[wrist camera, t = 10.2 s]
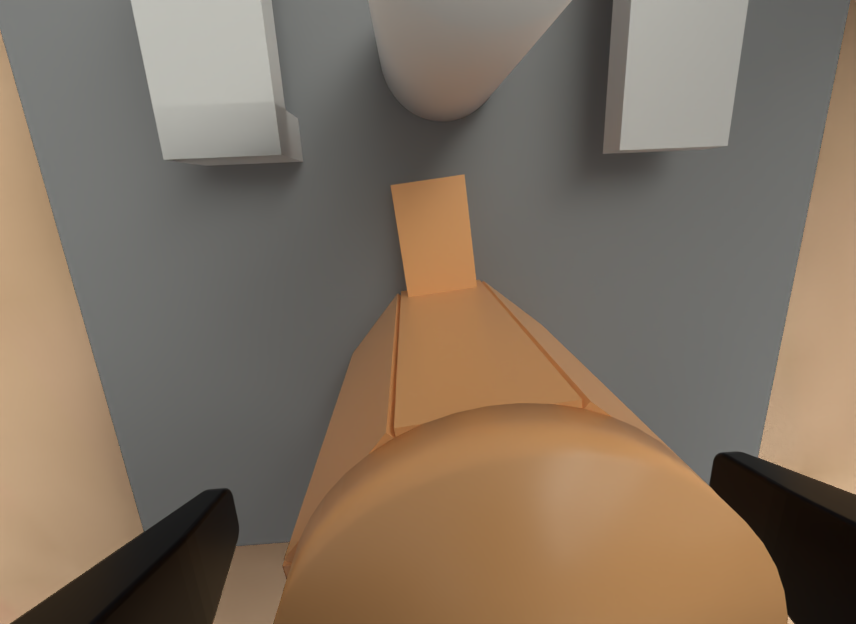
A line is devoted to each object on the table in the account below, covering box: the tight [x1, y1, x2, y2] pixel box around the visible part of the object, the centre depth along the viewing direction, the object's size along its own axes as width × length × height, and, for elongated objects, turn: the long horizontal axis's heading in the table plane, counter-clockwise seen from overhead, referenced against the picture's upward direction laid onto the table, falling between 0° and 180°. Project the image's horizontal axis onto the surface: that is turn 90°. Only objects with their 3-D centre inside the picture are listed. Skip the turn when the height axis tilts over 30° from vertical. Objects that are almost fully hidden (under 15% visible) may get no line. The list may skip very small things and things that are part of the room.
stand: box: [0, 0, 850, 546], centre depth 9 cm, size 20×20×8 cm
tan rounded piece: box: [273, 174, 788, 624], centre depth 8 cm, size 11×6×8 cm, turn 8°
